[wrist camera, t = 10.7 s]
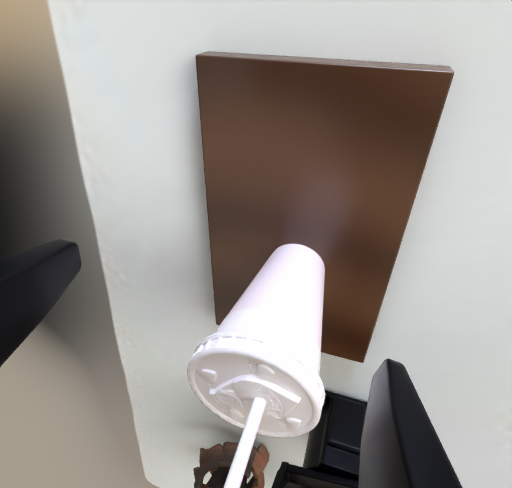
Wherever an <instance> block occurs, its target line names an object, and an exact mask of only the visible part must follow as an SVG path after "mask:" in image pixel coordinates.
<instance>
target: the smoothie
mask: <svg viewBox="0 0 512 488" xmlns="http://www.w3.org/2000/svg"><path fill="white" fill-rule="evenodd" d="M324 278H325V266H324V263H323V261H322V259H321V257H320V256H319V255H318V254H317V253H316V252H315V251H313V250H312V249H310V248H308V247H306V246H304V245H300V244H286V245H282V246H280V247H278V248H277V249H276V250H275V251H274V252H273V253H272V255H271V256H270V257H269V259H268V260H267V261H266V263H265V264H264V266H263V267H262V268H261V270H260V271H259V272H258V274H257V275H256V277H255V278H254V279H253V281H252V282H251V283H250V285H249V286H248V288H247V289H246V290H245V292H244V293H243V294H242V296H241V297H240V299H239V300H238V301H237V303H236V304H235V305H234V307H233V308H232V310H231V311H230V312H229V314H228V315H227V316H226V318H225V319H224V320H223V322H222V323H221V324H220V326H219V327H218V329H217V330H216V332H215V333H214V334H212V335H210V336H208V337H206V338H205V339H203V340H202V341H201V342H200V343H199V344H198V346H197V347H196V348H195V352H194V355H193V357H192V359H191V361H190V362H189V365H188V369H187V376H188V380H189V383H190V386H191V388H192V389H193V391H194V393H195V394H196V396H197V397H198V398H199V399H200V401H201V402H202V403H203V404H204V405H205V406H206V407H208V408H209V409H210V410H211V411H212V412H214V413H215V414H216V415H218V416H219V417H221V418H222V419H224V420H226V421H227V422H229V423H231V424H233V425H235V426H237V427H239V428H242V429H244V430H243V433H242V436H241V438H240V441H239V444H238V447H237V450H236V453H235V456H234V459H233V462H232V464H231V467H230V470H229V473H228V476H227V479H226V482H225V485H224V488H240V486H241V482H242V479H243V476H244V473H245V470H246V466H247V463H248V460H249V457H250V454H251V450H252V447H253V444H254V441H255V438H256V434H260V435H265V436H271V437H285V438H286V437H296V436H299V435H303V434H305V433H307V432H309V431H311V430H312V429H314V428H315V427H316V425H317V424H318V422H319V420H320V417H321V411H322V406H323V405H324V399H325V390H324V386H323V383H322V380H321V379H320V377H319V374H320V360H321V336H322V317H323V297H324Z"/></svg>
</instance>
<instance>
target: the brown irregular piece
mask: <svg viewBox="0 0 512 488" xmlns="http://www.w3.org/2000/svg"><path fill="white" fill-rule="evenodd" d="M238 444H239V443H231V442H225V443H224V445H223V446H222V445H221V444H217V445H215V446H213V447H211V448H209V449H204V448H201V449H200V468H199V467H196V468H194V475H195V483H194V488H224V485H225V482H226V479H227V476H228V473H229V470H230V467H231V464H232V462H233V459H234V456H235V453H236V450H237V447H238ZM268 461H269V453H268V451H267V449H266V447H265V446H264V445H261V446H260V447H259V448H258V449H257V448H256V447H252V450H251V454H250V457H249V460H248V463H247V466H246V470H245V473H244V476H243V479H242V482H241V486H240V488H264V473H263V470H264V468H265V467H266V465H267V463H268ZM209 471H210V473H211V474H212V477H211V478H210V480H209V481H208V483H207V484H203V478H204V476H205V474H206V473H207V472H209ZM251 471H252V473H253V477H252V478H251V480H250V481H249V482H248V483H247V478H249V477H250V473H251Z"/></svg>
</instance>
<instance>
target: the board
mask: <svg viewBox="0 0 512 488" xmlns="http://www.w3.org/2000/svg"><path fill="white" fill-rule="evenodd" d="M196 68H197V81H198V94H199V107H200V120H201V133H202V146H203V159H204V172H205V184H206V197H207V210H208V223H209V236H210V249H211V262H212V275H213V288H214V301H215V314H216V324H217V325H220V324H221V323H222V322H223V320H224V319H225V318H226V316H227V315H228V314H229V312H230V311H231V310H232V308H233V307H234V305H235V304H236V303H237V301H238V300H239V299H240V297H241V296H242V294H243V293H244V292H245V290H246V289H247V288H248V286H249V285H250V283H251V282H252V281H253V279H254V278H255V277H256V275H257V274H258V272H259V271H260V270H261V268H262V267H263V266H264V264H265V263H266V261H267V260H268V259H269V257H270V256H271V255H272V253H273V252H274V251H275V250H276V249H277V248H278V247H280V246H282V245H286V244H300V245H304V246H306V247H308V248H310V249H312V250H313V251H315V252H316V253H317V254H318V255H319V256H320V257H321V259H322V261H323V263H324V266H325V278H324V297H323V317H322V336H321V352H323V353H327V354H331V355H334V356H338V357H342V358H346V359H350V360H353V361H357V362H361V363H363V362H364V359H365V356H366V353H367V350H368V346H369V343H370V340H371V337H372V334H373V331H374V327H375V324H376V321H377V318H378V315H379V311H380V308H381V305H382V302H383V299H384V295H385V292H386V289H387V286H388V283H389V280H390V276H391V273H392V270H393V267H394V264H395V260H396V257H397V254H398V251H399V248H400V244H401V241H402V238H403V235H404V232H405V229H406V225H407V222H408V219H409V216H410V213H411V209H412V206H413V203H414V200H415V197H416V193H417V190H418V187H419V184H420V181H421V178H422V174H423V171H424V168H425V165H426V162H427V158H428V155H429V152H430V149H431V146H432V142H433V139H434V136H435V133H436V130H437V127H438V123H439V120H440V117H441V114H442V111H443V107H444V104H445V101H446V98H447V95H448V91H449V88H450V85H451V82H452V79H453V76H454V71H453V70H452V69H451V67H449V66H440V65H423V64H407V63H391V62H374V61H358V60H341V59H325V58H309V57H292V56H276V55H259V54H243V53H227V52H210V51H208V52H204V53H201V54H198V55H196Z"/></svg>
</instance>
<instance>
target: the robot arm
mask: <svg viewBox="0 0 512 488" xmlns="http://www.w3.org/2000/svg"><path fill="white" fill-rule="evenodd" d="M80 268H81V258H80V253H79V248H78V245H77V244H76V243H75V242H72V241H70V240H67V239H59V240H56V241H53V242H49V243H46V244H42V245H39V246H36V247H33V248H29V249H26V250H23V251H19V252H16V253H13V254H10V255H7V256H3V257H0V367H1V365H2V364H3V363H4V362H5V361H6V360H7V359H8V358H9V356H10V355H11V354H12V353H13V352H14V351H15V350H16V349H17V348H18V347H19V345H20V344H21V343H22V342H23V341H24V340H25V339H26V338H27V337H28V335H29V334H30V333H31V332H32V331H33V330H34V329H35V328H36V326H37V325H38V324H39V323H40V322H41V321H42V320H43V319H44V318H45V316H46V315H47V314H48V313H49V312H50V310H51V309H52V308H53V306H54V305H55V304H56V302H57V301H58V300H59V298H60V297H61V295H62V294H63V293H64V291H65V290H66V289H67V287H68V286H69V284H70V283H71V282H72V280H73V279H74V278H75V276H76V275H77V274H78V272H79V271H80ZM272 488H462V486H461V484H460V482H459V480H458V477H457V475H456V473H455V471H454V469H453V467H452V465H451V463H450V461H449V459H448V457H447V454H446V452H445V450H444V448H443V446H442V444H441V442H440V440H439V438H438V436H437V433H436V431H435V429H434V427H433V425H432V423H431V421H430V419H429V417H428V415H427V413H426V410H425V408H424V406H423V404H422V402H421V400H420V398H419V396H418V394H417V392H416V390H415V387H414V385H413V383H412V381H411V379H410V377H409V375H408V373H407V371H406V369H405V367H404V365H403V364H401V363H399V362H396V361H394V360H391V359H386V360H385V361H384V362H383V363H382V365H381V366H380V367H379V369H378V370H377V371H376V373H375V374H374V376H373V378H372V382H371V387H370V392H369V398H368V403H365V402H362V401H358V400H355V399H351V398H348V397H344V396H341V395H338V394H334V393H331V392H327V391H325V399H324V405H323V406H322V411H321V417H320V420H319V422H318V424H317V425H316V427H315V428H314V429H312V430H311V431H310V432H309V437H308V443H307V448H306V453H305V458H304V464H303V467H299V466H295V465H291V464H289V463H288V462H282V464H281V467H280V469H279V470H278V472H277V474H276V477H275V480H274V483H273V485H272Z"/></svg>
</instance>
